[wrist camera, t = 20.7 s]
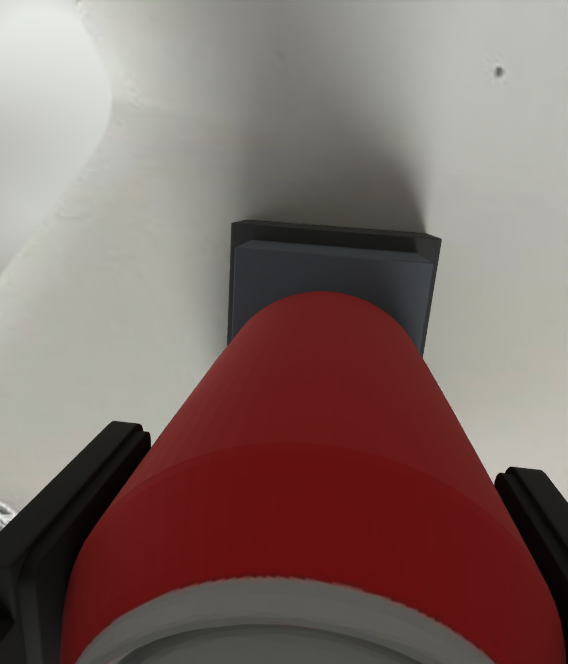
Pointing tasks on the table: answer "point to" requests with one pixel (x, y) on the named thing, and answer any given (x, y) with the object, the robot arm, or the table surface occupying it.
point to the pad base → (339, 238)
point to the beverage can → (311, 517)
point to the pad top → (331, 279)
